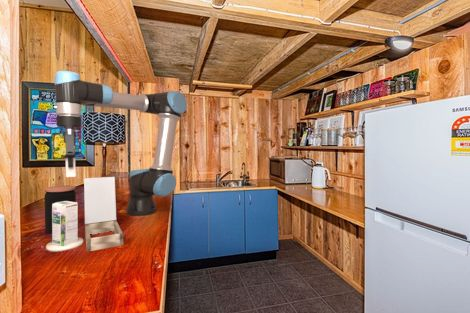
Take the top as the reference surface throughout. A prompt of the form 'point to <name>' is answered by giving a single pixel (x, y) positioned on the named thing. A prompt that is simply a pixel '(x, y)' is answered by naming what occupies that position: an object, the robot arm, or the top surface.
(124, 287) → the top surface
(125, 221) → the top surface
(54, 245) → the saucer
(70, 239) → the syrup box
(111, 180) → the lid
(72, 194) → the coffee jar
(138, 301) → the top surface
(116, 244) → the box
